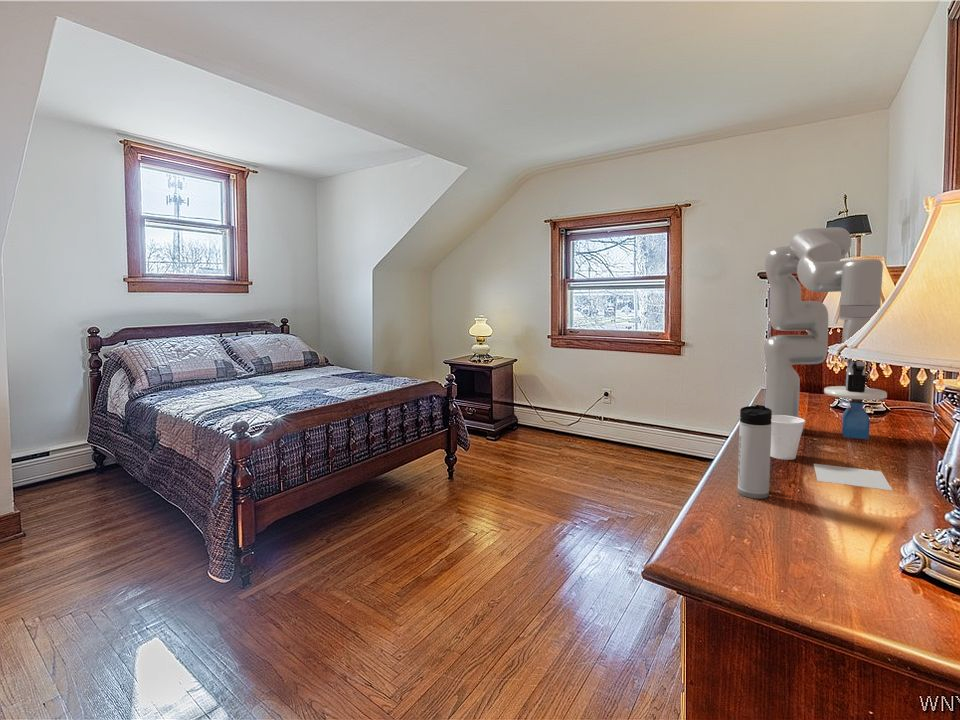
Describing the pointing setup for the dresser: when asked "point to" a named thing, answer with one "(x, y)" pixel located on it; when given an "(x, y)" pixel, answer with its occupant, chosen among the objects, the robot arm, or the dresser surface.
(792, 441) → the cup
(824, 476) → the mat
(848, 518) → the dresser surface
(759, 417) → the travel mug
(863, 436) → the perfume bottle
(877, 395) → the lid
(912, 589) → the dresser surface
